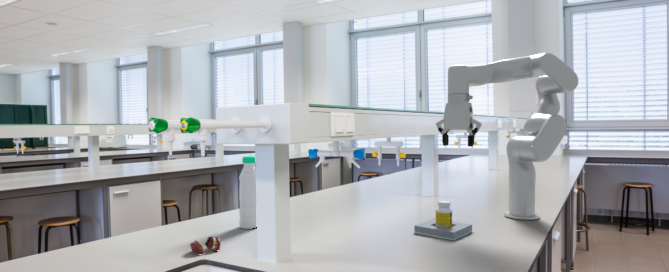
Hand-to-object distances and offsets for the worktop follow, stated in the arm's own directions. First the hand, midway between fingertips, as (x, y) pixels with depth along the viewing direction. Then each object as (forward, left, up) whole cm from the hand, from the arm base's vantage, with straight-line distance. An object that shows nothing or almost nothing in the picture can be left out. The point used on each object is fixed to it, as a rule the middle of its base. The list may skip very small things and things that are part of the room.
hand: (457, 145), depth 158 cm
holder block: (+17, +3, -28) cm, 33 cm away
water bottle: (+55, -52, -28) cm, 81 cm away
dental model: (+81, -39, -29) cm, 94 cm away
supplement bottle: (+17, +3, -28) cm, 33 cm away
